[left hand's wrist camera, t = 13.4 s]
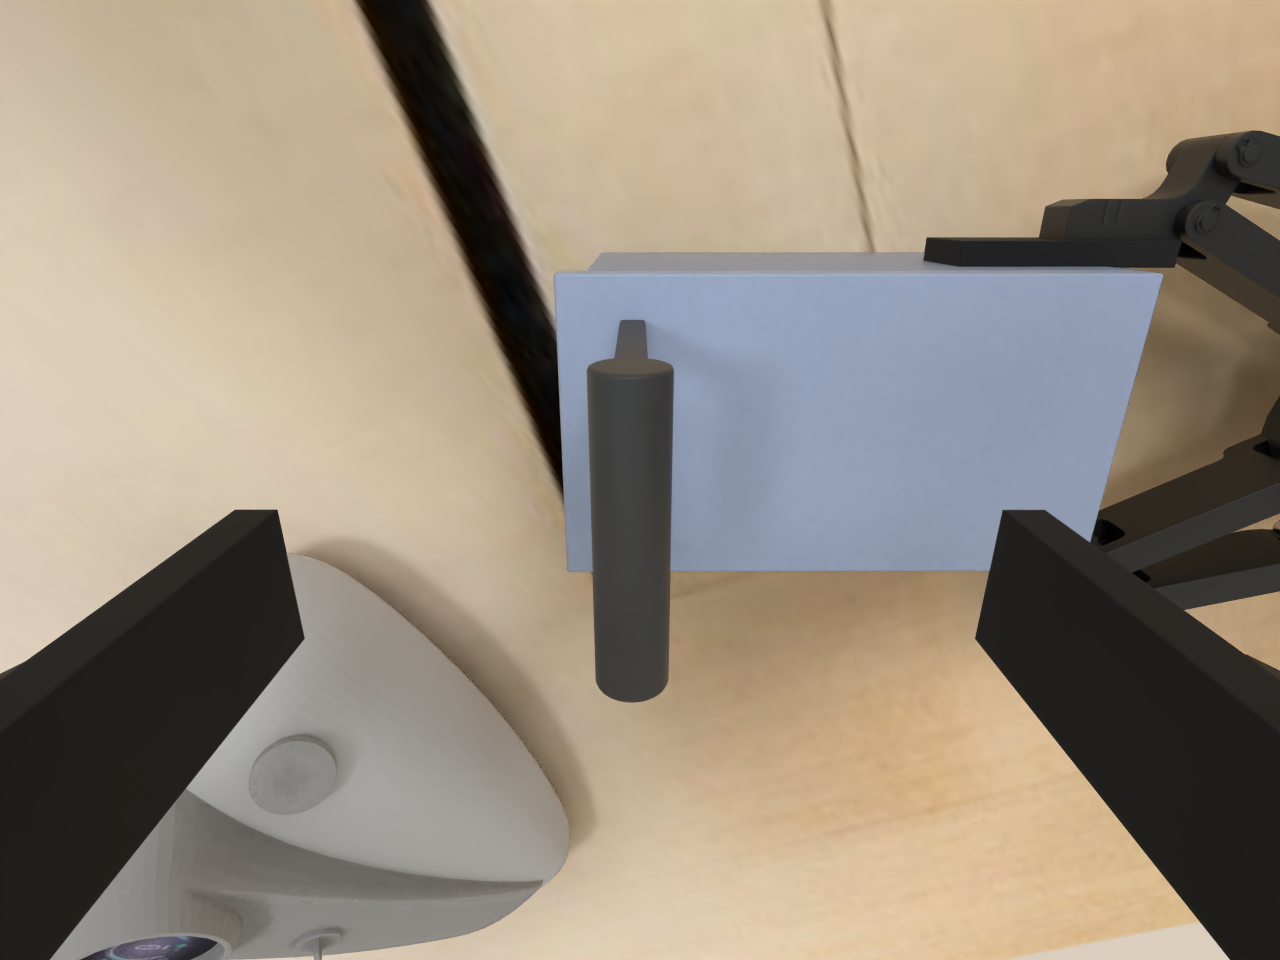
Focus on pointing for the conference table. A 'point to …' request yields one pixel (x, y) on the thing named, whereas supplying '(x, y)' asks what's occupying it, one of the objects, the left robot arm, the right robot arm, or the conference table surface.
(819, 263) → the chest
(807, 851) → the conference table surface
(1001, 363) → the lid
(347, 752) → the projector
